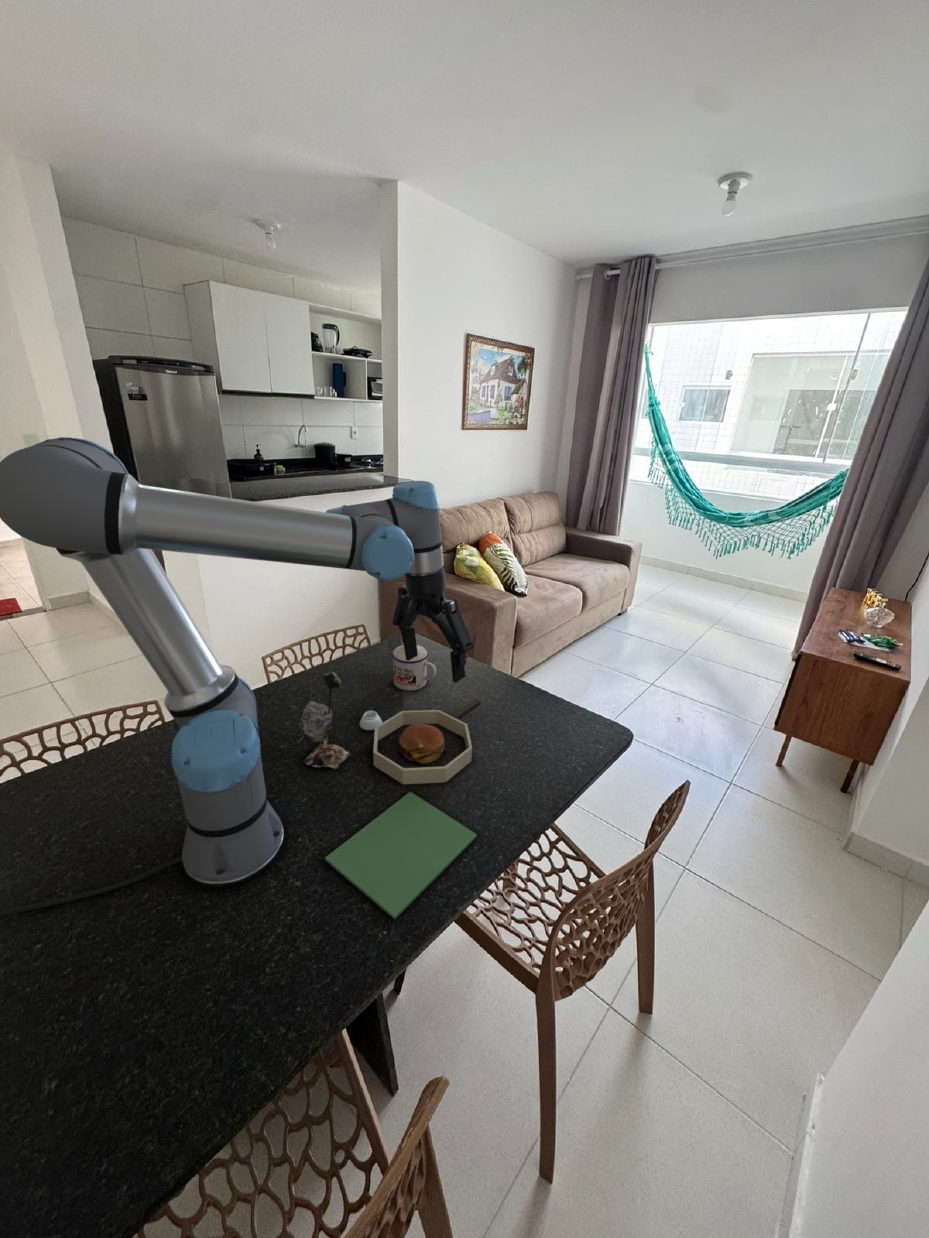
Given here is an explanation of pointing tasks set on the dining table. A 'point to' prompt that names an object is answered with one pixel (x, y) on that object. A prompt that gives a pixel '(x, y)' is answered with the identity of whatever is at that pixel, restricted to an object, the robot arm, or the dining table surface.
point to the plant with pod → (322, 730)
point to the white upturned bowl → (370, 720)
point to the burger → (422, 743)
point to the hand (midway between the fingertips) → (434, 668)
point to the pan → (425, 718)
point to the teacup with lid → (411, 669)
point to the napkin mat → (401, 852)
